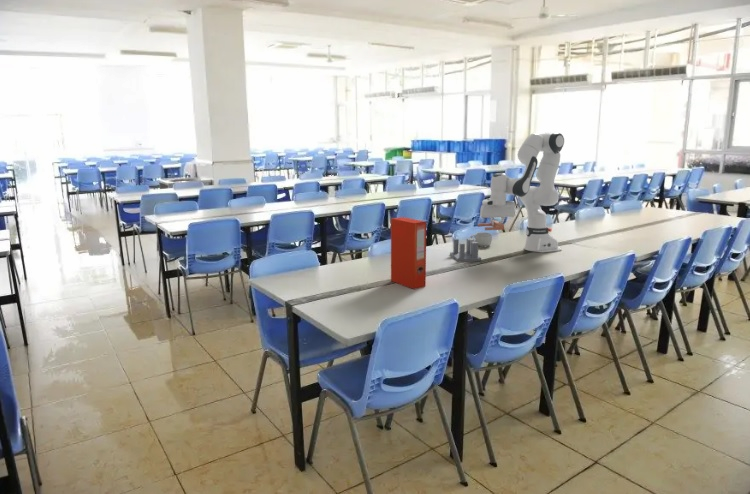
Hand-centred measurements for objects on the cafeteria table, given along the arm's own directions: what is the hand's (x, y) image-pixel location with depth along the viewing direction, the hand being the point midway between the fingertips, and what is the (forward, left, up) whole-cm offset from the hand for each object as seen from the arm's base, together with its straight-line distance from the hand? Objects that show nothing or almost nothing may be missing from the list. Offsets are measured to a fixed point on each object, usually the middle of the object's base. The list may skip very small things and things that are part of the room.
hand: (497, 224), depth 307 cm
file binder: (+62, +47, -19) cm, 80 cm away
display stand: (+19, 0, -19) cm, 27 cm away
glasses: (+4, 0, -2) cm, 4 cm away
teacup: (0, -29, -19) cm, 35 cm away
